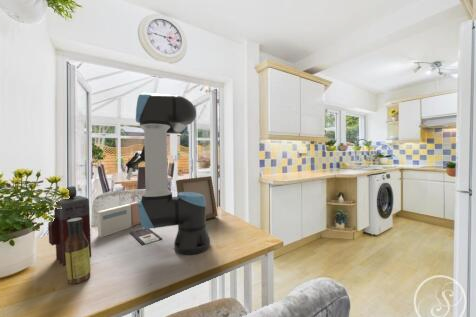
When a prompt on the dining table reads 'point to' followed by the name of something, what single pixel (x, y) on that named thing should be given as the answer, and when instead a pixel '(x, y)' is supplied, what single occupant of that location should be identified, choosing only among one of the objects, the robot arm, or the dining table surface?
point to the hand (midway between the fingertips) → (139, 181)
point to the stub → (135, 213)
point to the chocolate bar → (145, 236)
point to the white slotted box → (114, 219)
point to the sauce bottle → (77, 252)
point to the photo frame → (202, 187)
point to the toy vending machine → (59, 228)
